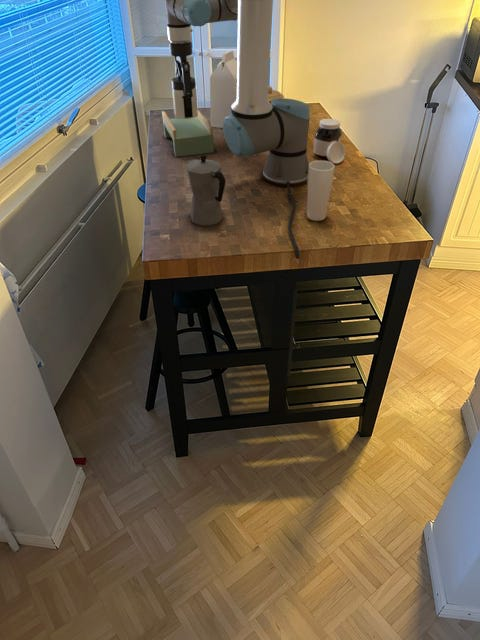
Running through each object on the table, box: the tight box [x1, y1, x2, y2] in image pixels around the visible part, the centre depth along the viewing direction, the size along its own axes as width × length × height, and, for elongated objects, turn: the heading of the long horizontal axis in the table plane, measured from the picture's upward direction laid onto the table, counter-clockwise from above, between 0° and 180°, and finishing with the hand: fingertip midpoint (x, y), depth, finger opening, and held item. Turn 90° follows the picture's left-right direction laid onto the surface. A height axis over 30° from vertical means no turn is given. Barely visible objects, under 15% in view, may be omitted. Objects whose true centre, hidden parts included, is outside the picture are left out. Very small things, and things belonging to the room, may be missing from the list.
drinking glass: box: [306, 160, 335, 222], centre depth 128 cm, size 7×7×15 cm
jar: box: [171, 76, 199, 119], centre depth 166 cm, size 9×8×12 cm
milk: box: [209, 49, 237, 129], centre depth 185 cm, size 12×12×26 cm
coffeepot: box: [185, 154, 226, 227], centre depth 126 cm, size 15×9×18 cm, turn 39°
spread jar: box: [313, 118, 346, 164], centre depth 161 cm, size 12×11×12 cm
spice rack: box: [161, 108, 215, 158], centre depth 174 cm, size 22×14×9 cm, turn 17°
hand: (185, 113), depth 169 cm, fingers closed on jar, 9 cm apart
